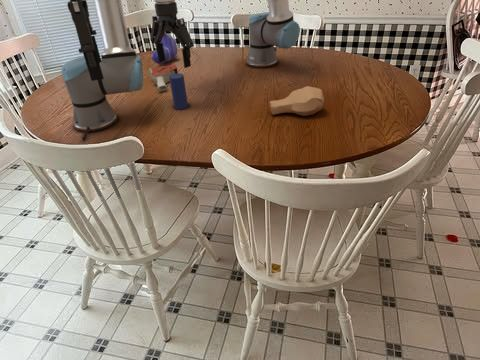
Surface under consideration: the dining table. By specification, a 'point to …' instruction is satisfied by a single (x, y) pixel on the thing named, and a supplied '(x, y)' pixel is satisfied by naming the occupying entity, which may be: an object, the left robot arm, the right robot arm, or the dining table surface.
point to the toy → (166, 49)
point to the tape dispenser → (162, 76)
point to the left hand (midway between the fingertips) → (97, 70)
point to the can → (178, 91)
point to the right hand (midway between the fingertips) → (174, 64)
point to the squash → (300, 102)
